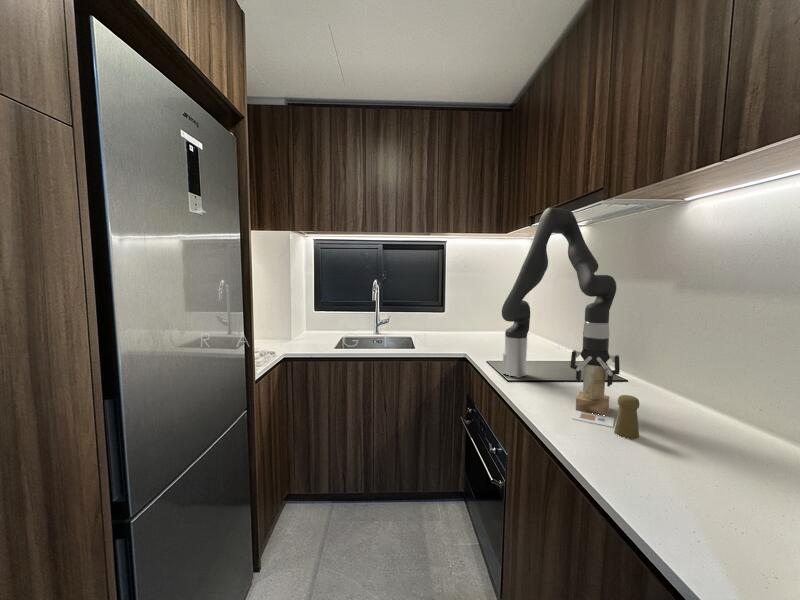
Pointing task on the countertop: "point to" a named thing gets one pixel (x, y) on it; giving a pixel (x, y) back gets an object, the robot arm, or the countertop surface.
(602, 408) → the base brick
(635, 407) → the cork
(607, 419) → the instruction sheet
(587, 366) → the box
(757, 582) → the countertop surface
